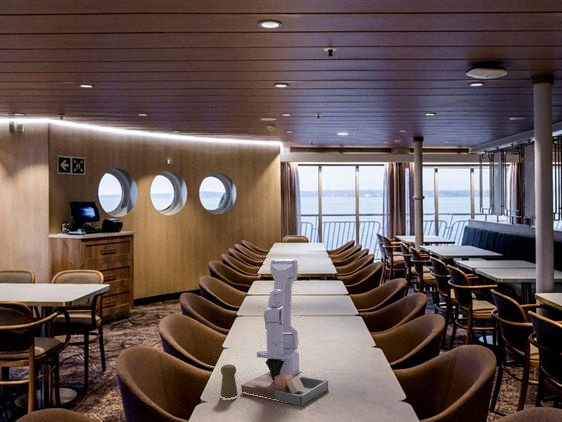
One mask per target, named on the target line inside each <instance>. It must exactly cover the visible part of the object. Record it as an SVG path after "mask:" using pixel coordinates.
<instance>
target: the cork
mask: <svg viewBox="0 0 562 422" xmlns="http://www.w3.org/2000/svg"><path fill="white" fill-rule="evenodd" d="M220 373H221V375H222V378H221V379H222V380H221V387H220V388H221V389H220V395H221V396H222V397H225V398H231V397H235V396H237V395H238V389H237V381H236V373H237V367H236V366H235V365H234V364H228V363H227V364H223V365H222V366H221V368H220ZM238 396H239V395H238Z"/></svg>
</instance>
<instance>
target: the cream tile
mask: <svg viewBox="0 0 562 422" xmlns="http://www.w3.org/2000/svg"><path fill="white" fill-rule="evenodd" d="M296 376H297V377H295V378H293V379H291V380H289V381H287V382H286V383H287V385H288V387H289V389H290V391H291V393H292V394H294V393H296V392H298V391H300V390H301V389H303V388H304V386H303V384H302V382H301V380H300V378H299V375H296Z"/></svg>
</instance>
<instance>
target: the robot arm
mask: <svg viewBox="0 0 562 422" xmlns="http://www.w3.org/2000/svg"><path fill="white" fill-rule="evenodd" d="M298 270H299V269H298V260H297V259H296V258H292V259H290V258H289V259H280V258H279V259H275V258H273V259H272V260H271V261H270V274H271V275H272V278H273V280H274V282H273V290H272V291H270V293H269V298H268V303H267V307H266V308H265V309H264V312H263V319H264V327H265V331H266V333H265V334H266V350H259V351H256V358H263V359H267V360H265V364H266V366H267V367H268V370H269V372H270V373H271V376H272V380H273V381H275V376H277V375H279V374H280V373H283V374H289V375H294V376H296V375H297V374H299V373H301V372H302V370H301V369H300V354H299V352H298V348H299V333H298V329H296V328H295V327H294V326H293V325H292V292H293V291H292V289H293V283H294V282H297V280H298V279H297V278H298Z"/></svg>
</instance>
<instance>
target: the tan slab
mask: <svg viewBox="0 0 562 422" xmlns="http://www.w3.org/2000/svg"><path fill="white" fill-rule="evenodd" d="M280 374H281V373H280ZM297 376H299V375H293V378H295V377H297ZM299 378H300V380H301V382H302V376H299ZM240 387H241V390H240V391H242V392H246V393H249V394H254V395H258V396H263V397H267V398H271V399H275V391H276V390H277V391H282V392H289V391H290V389H289V387H288V385H287V386H284V385H278V384H275V381H273V380H272V376H271V373H270V371H268V372H265V373H264V374H262V375H260V376H259V375H258V377H255V378H253V379H251V380H249V381H247V382H245V383H242V384H241V385H240Z"/></svg>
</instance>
